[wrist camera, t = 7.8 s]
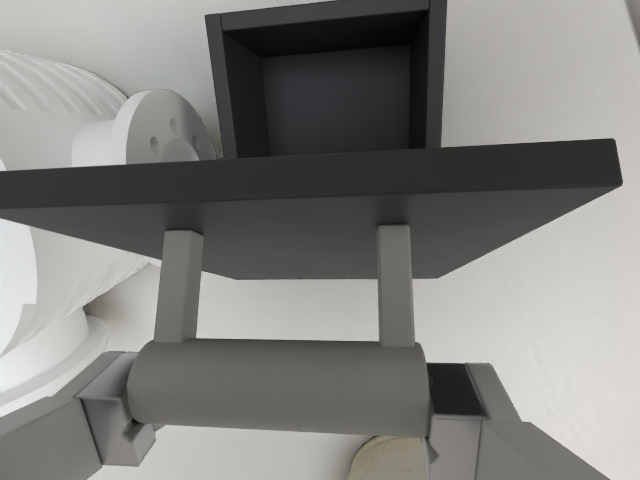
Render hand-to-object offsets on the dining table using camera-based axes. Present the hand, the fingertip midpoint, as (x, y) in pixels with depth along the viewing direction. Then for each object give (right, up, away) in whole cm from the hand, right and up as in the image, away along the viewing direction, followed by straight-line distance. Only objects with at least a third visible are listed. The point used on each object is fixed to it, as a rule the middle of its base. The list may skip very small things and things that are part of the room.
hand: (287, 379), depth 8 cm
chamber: (+2, +10, +18) cm, 20 cm away
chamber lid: (+1, +3, +5) cm, 6 cm away
